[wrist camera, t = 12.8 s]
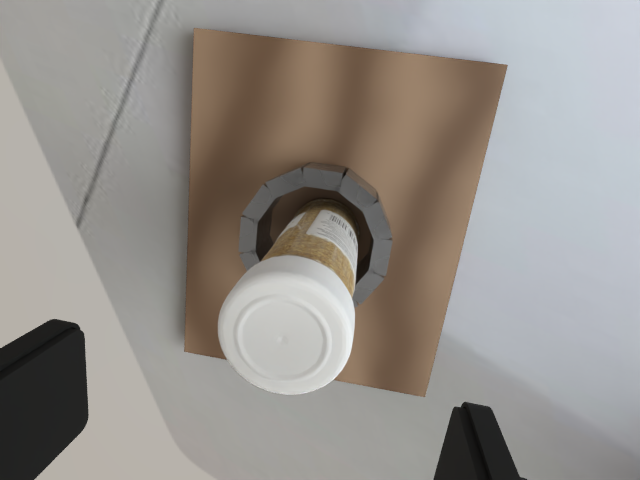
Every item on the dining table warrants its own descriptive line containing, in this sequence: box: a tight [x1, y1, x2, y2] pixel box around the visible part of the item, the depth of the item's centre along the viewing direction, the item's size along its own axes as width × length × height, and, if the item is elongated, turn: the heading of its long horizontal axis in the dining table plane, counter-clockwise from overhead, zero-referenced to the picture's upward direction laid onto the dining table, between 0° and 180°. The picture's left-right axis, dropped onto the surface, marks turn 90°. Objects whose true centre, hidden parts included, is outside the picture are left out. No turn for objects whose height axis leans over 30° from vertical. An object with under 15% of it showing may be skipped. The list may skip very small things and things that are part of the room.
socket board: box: [184, 28, 508, 397], centre depth 26 cm, size 18×22×2 cm
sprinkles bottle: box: [218, 199, 360, 395], centre depth 19 cm, size 5×5×13 cm
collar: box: [238, 162, 393, 308], centre depth 24 cm, size 9×9×4 cm
